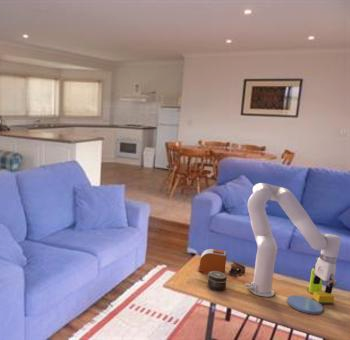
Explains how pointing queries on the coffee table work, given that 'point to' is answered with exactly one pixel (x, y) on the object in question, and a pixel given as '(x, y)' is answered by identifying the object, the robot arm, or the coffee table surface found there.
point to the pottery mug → (235, 271)
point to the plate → (305, 304)
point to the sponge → (323, 297)
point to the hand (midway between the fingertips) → (321, 288)
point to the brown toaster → (213, 261)
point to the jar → (217, 280)
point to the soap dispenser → (313, 286)
